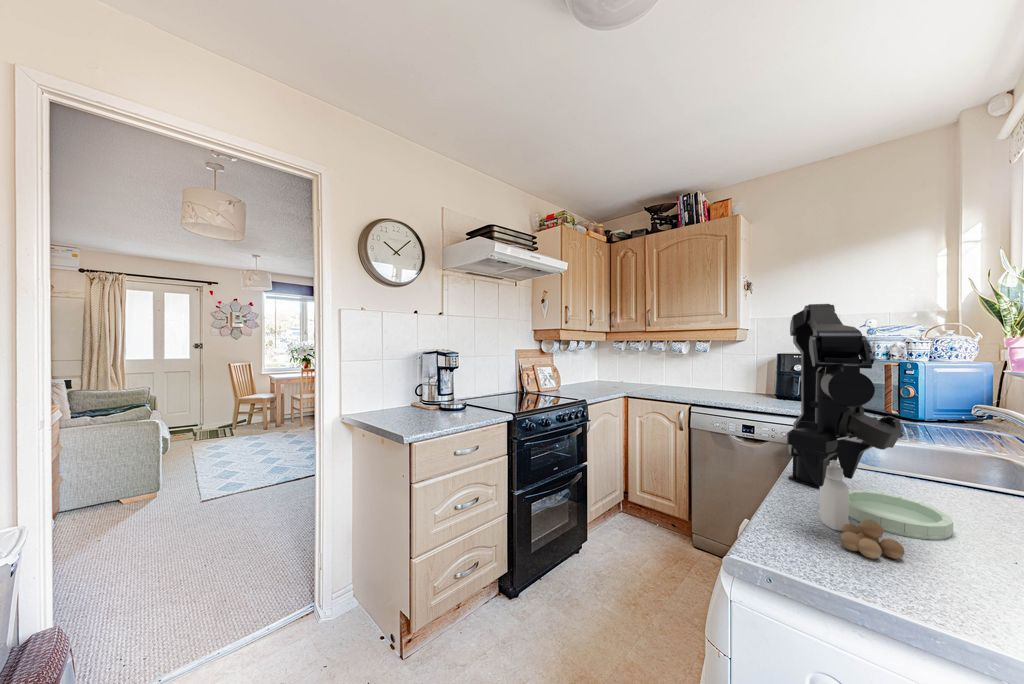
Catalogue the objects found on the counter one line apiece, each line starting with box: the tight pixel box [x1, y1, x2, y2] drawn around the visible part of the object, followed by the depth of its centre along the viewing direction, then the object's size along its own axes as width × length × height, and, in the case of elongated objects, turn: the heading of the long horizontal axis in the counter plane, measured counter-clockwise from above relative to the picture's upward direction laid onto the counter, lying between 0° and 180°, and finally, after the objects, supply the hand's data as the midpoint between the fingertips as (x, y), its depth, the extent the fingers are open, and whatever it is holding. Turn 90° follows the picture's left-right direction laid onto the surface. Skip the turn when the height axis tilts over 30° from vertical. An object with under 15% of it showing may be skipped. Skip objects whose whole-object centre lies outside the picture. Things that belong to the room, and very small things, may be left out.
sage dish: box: [848, 489, 954, 541], centre depth 71 cm, size 15×15×2 cm
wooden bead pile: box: [839, 520, 905, 560], centre depth 61 cm, size 8×6×5 cm
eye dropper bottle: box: [818, 460, 850, 532], centre depth 69 cm, size 4×6×12 cm
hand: (833, 481), depth 69 cm, fingers open, 9 cm apart
